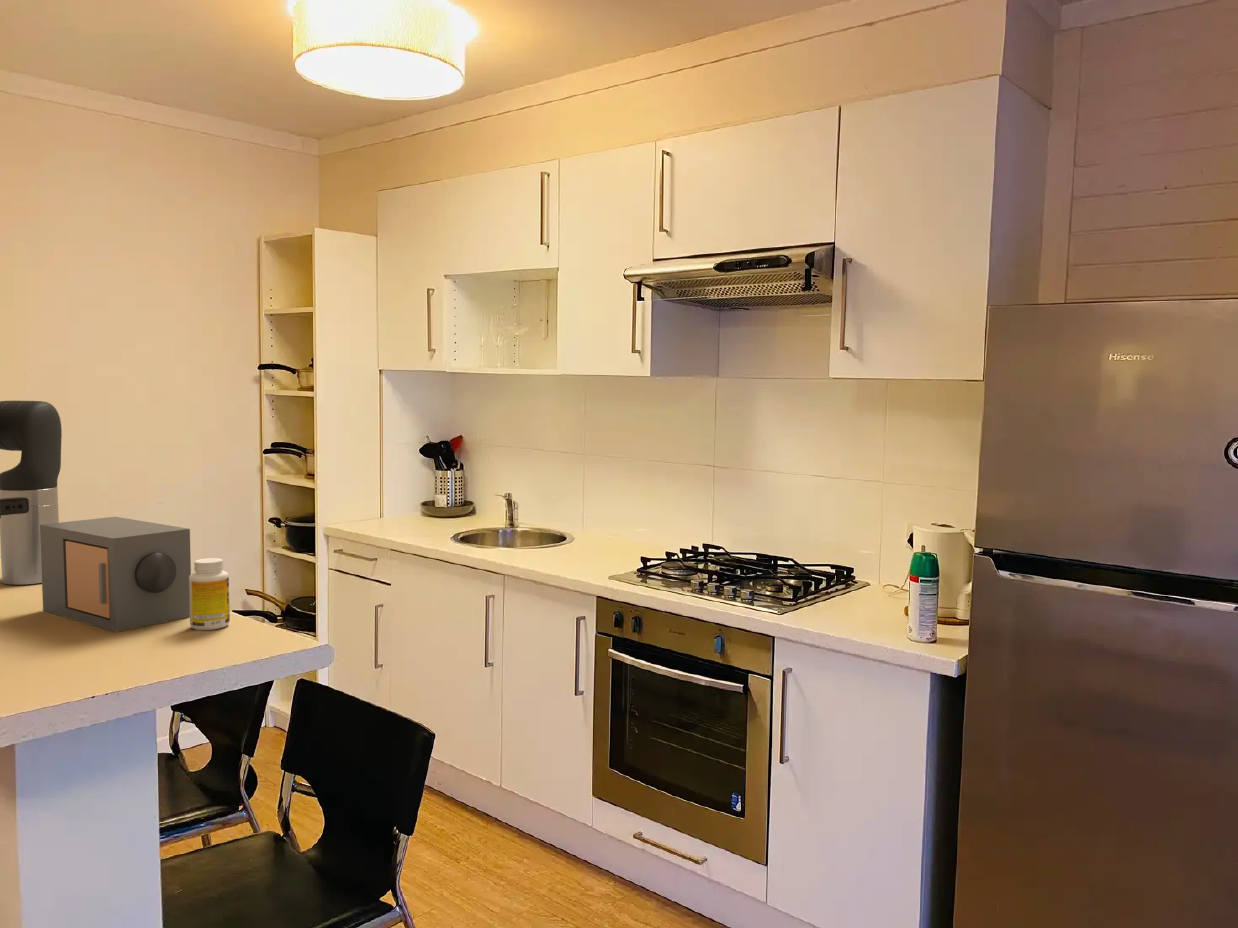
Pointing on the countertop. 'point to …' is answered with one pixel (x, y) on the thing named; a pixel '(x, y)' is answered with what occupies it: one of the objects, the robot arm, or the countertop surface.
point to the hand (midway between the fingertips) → (26, 504)
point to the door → (88, 578)
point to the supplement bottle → (209, 595)
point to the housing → (122, 570)
